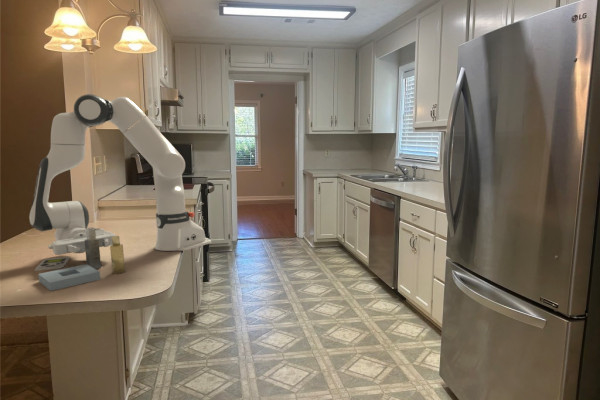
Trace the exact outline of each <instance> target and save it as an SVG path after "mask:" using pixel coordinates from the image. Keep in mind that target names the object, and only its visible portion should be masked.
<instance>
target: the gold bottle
mask: <svg viewBox="0 0 600 400" xmlns="http://www.w3.org/2000/svg"><path fill="white" fill-rule="evenodd" d="M112 243H113V245H110V246H109V249H110V258H111V269H112V274H114V275H120V274H123V273H125V272H126V265H125V257H124V255H125V254H124V245H123V244H122V243H121V241H120V236H119V235H116V236H113V237H112Z"/></svg>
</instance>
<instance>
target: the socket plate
mask: <svg viewBox="0 0 600 400" xmlns="http://www.w3.org/2000/svg"><path fill="white" fill-rule="evenodd" d="M99 280H100V281H101V271H99V270H98V269H94V268H92V267H91V266H89V265H87V263H86V264H85V263H84V264H80V265H75V266H70V267H64V268H59V269H54V270H51V271H46V272H41V273H38V282H39V283H40V284H42V285H43V286H44V287H45V288H46V289H48V291H50V292H51V291H52V292H53V291H56V290H62V289H65V288H70V287H73V286H77V285H81V284H85V283H90V282H95V281H99Z"/></svg>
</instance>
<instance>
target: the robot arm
mask: <svg viewBox="0 0 600 400" xmlns="http://www.w3.org/2000/svg"><path fill="white" fill-rule="evenodd" d="M106 122H109V123H112V124H113V125H115V126H116V127H117V129H118V130H119V131H120V133H122V134H123V135H124V137H125V138H126V139H127V140H128V141H129V142H130V144H131V145H132V146H133V147H134V148H135V149H136V151H137V152H139V153H140V155H141V156H142V157H143V158H144V159H145V161H147V162H148V164H149V165H150V166H151V168H152V173H153V175H152V176H153V183H154V190H155V191H154V192H155V201H156V202H155V205H156V214H155V222H156V230H157V232H156V241H155V246H154V249H155V250H157V251H162V252H167V251H168V252H171V251H174V252H175V251H180V252H182V251H188V250H192V249H196V248H198V247H199V248H200V247H203V246H205V245H209V244H211V243H212V241H211V239H210V238H208V237H206V234H205V230H204V229H203V227H202V226H200V225H199V224H197V223H196V222H194V221H193V220H191V218H194V217H195V216H196V215H195V212H191V211H190V212H188V211H187V210H186V197H185V193H186V192H185V188H184V183H183V173H185V169H186V161H185V159H184V157H183V156H182V154H180V152H179V151H178V150H177V149H176V148H175V147H174V145H173V144H172V143H171V142H170V141H169V140H168V139H167V138H166V137H165V136H164V135H163V134H162V133H161V131H160V130H159V129H158V128H157V127H156V126H155V124H154V123H153V122H152V120H151V119H150V118H149V117H148V116H147V114H145V112H144V111H143V110H142V109H141V108H140V107H139V106H138V105H137V104H136V103H135V102H133V100H131V99H130V98H128V97H127V96H119V97H115V98H114V99H113V100H111V101H110V100H108V99H105V98H103V97H102V96H101V97H100V96H99V95H96V94H92V93H91V94H90V93H89V94H87V93H86V94H83V95H81V96H79V97H78V98H77V99H76V100H75V102H74V104H73V111H72V112H60V113H57V114H56V115H55V116H54V117H53V119H52V122H51V130H50V149H49V152H48V154H47V155H46V156H45V157H44V158H42V159H41V161H40V163H39V165H38V170H37V171H38V172H37V175H36V181H35V187H34V193H33V199H32V202H31V203H32V204H31V207H30V211H29V215H28V216H29V217H28V218H29V223H30V225H31V227H32V228H33V229H35V230H37V231H39V232H46V231H52V230H55V232H54V238H55V240H54V241H52V243H51V244H50V245H48V246H47V247H48V249H50V250H52V253H53V254H54V255H57V256H59V255H60V256H61V255H65V254H71V253H74V254H83V253H86V251H85V240H86V239H87V234H86V228H88V226H89V222H90V215H89V210H88V208H87V207H86V206H85V204H84V203H82V202H81V201H80V200H69V201H57V202H49V197H50V189H51V184H52V181H53V179H54V178H55V177H56V176H57V175H60V174H62V173H65V172H66V171H70V170H72V169H74V168H76V167H78V166H79V165H81V164H82V162H83V161H84V159H85V157H86V132H87V130H88V128H92V127H97V126H100V125H103V124H105V123H106ZM95 232H96V239H99V248H103V247H104V248H106V247H110V246H111V245H113V243H112V237H113V236H117V235H116V234H115V233H114V232H111V231H109V230H108V231H107V230H104V228H95Z"/></svg>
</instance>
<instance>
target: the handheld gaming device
mask: <svg viewBox="0 0 600 400" xmlns="http://www.w3.org/2000/svg"><path fill="white" fill-rule="evenodd" d="M70 258H71V256H63V257H54V258H53V257H52V258H43V260H41V262H40V263H39V264H38V265H37V266H36V267H35V268H34V272H37V271H49V270H60V269H64V268H65V266H66V265H67V263H68V261H69V260H70Z"/></svg>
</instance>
